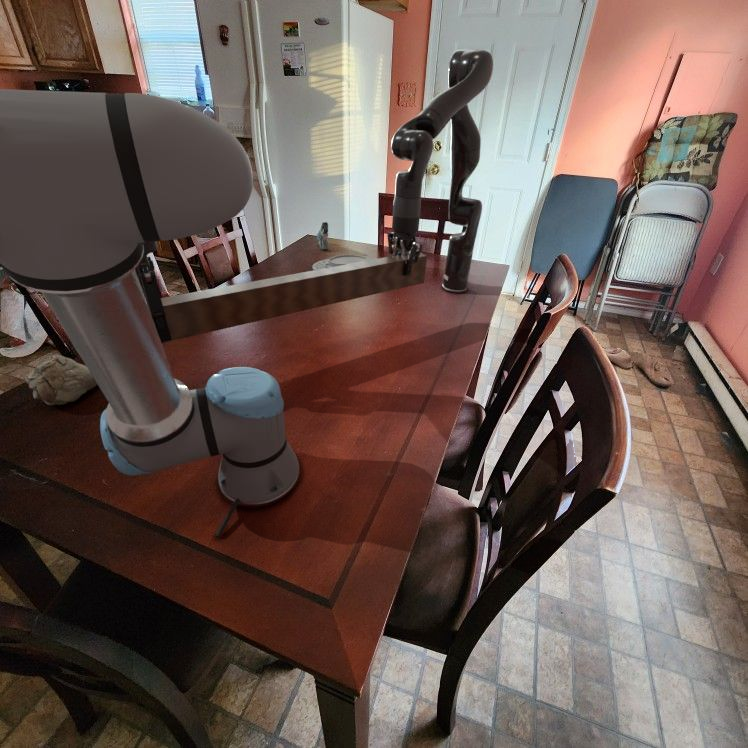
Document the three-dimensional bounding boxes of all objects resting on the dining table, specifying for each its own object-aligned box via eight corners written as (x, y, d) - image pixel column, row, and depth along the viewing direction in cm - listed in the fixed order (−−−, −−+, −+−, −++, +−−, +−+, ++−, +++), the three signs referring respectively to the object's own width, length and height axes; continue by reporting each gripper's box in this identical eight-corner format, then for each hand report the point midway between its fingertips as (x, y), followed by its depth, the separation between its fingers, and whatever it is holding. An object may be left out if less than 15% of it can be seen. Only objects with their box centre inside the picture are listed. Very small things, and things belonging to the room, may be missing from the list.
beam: (127, 351, 89) (114, 315, 84) (124, 342, 92) (112, 306, 87) (424, 283, 127) (427, 255, 123) (415, 278, 130) (418, 251, 125)
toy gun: (323, 243, 181) (320, 220, 181) (318, 254, 200) (316, 234, 199) (331, 242, 182) (329, 220, 181) (326, 254, 200) (323, 233, 200)
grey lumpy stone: (119, 392, 103) (53, 408, 89) (91, 395, 107) (24, 411, 94) (107, 347, 101) (39, 357, 88) (80, 353, 106) (10, 362, 92)
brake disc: (395, 282, 163) (395, 270, 160) (320, 288, 155) (319, 275, 153) (372, 256, 188) (372, 245, 185) (307, 260, 181) (306, 249, 178)
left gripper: (161, 240, 76) (189, 348, 89) (145, 217, 88) (171, 316, 101) (115, 246, 72) (151, 358, 86) (105, 221, 84) (138, 323, 98)
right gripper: (433, 218, 110) (426, 278, 120) (402, 206, 120) (397, 263, 130) (411, 221, 107) (405, 283, 117) (380, 208, 116) (377, 267, 126)
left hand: (162, 335), depth 93 cm, fingers closed on beam, 4 cm apart
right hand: (401, 272), depth 123 cm, fingers closed on beam, 4 cm apart
